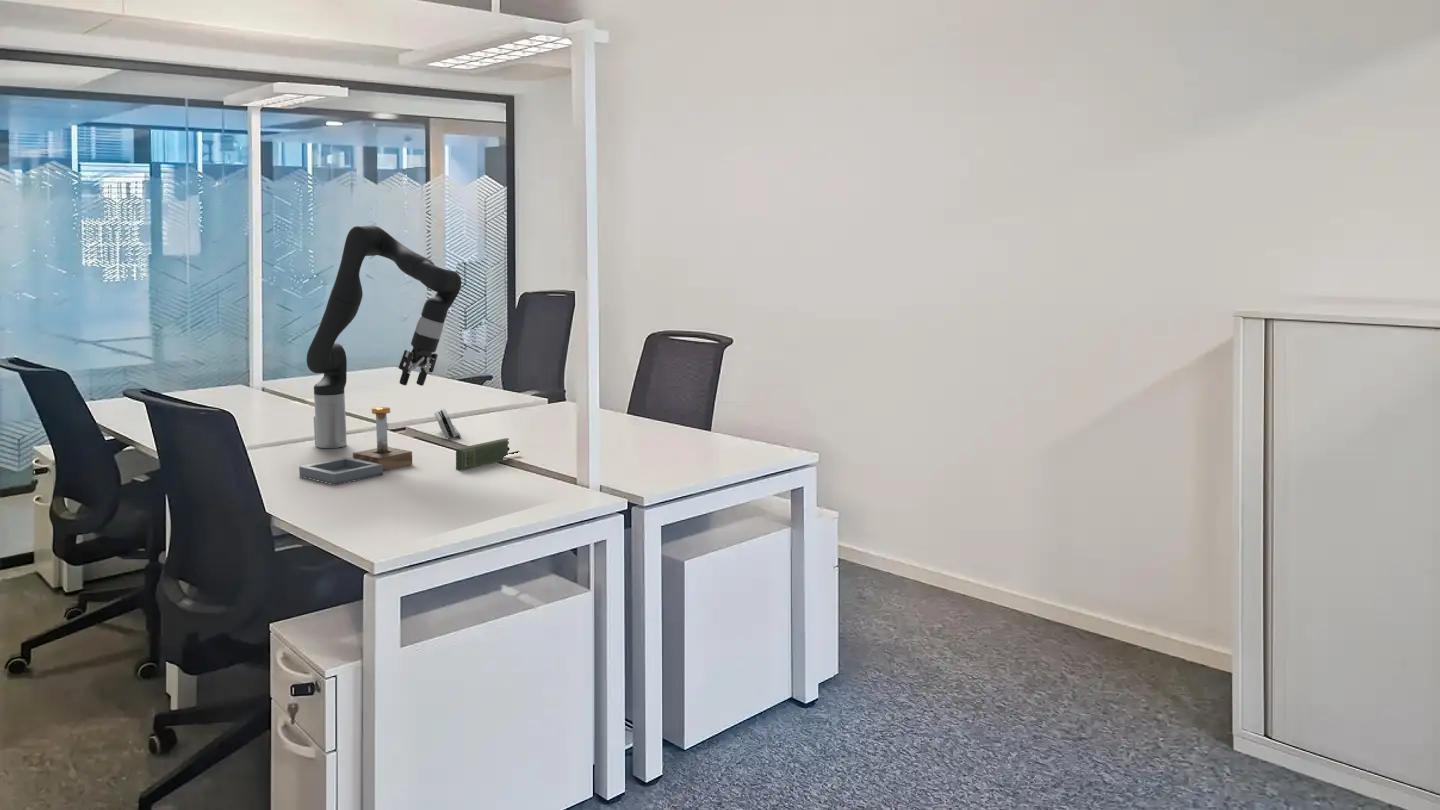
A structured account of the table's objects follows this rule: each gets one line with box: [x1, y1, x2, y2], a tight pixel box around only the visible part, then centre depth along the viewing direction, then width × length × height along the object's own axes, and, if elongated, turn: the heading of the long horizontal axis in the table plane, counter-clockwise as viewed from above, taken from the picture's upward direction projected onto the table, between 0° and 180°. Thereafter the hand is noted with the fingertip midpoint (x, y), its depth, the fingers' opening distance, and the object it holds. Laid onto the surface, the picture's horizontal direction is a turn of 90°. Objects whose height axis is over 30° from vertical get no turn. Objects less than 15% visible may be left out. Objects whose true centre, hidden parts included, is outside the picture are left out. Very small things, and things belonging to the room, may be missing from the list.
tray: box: [298, 456, 384, 485], centre depth 305 cm, size 16×16×3 cm
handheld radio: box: [455, 437, 521, 471], centre depth 325 cm, size 7×3×25 cm
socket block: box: [352, 446, 413, 472], centre depth 319 cm, size 12×12×4 cm
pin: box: [371, 406, 391, 454], centre depth 318 cm, size 5×5×17 cm
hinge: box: [434, 408, 462, 439], centre depth 367 cm, size 17×5×10 cm, turn 20°
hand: (411, 384), depth 320 cm, fingers open, 8 cm apart
